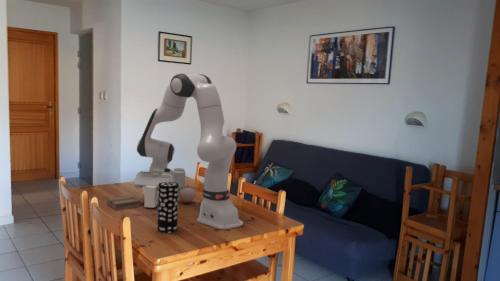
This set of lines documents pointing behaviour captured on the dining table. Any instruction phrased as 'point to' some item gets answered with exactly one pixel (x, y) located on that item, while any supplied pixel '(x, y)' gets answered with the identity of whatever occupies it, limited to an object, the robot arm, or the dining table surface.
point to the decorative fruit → (187, 193)
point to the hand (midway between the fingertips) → (150, 195)
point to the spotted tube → (167, 207)
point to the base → (123, 202)
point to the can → (179, 176)
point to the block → (150, 196)
